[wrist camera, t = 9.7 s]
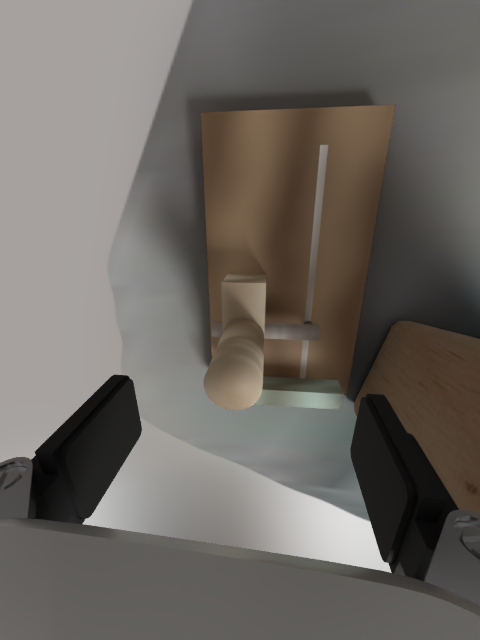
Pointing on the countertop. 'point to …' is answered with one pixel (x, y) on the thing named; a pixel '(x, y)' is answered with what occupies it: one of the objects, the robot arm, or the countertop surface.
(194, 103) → the countertop surface
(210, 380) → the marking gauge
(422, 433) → the wooden block
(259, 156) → the walnut board
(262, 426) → the countertop surface
